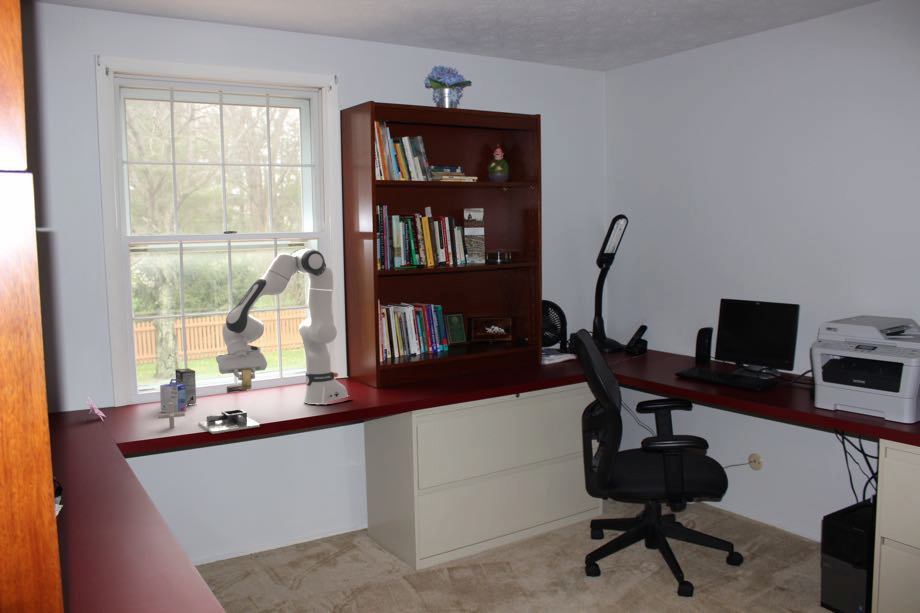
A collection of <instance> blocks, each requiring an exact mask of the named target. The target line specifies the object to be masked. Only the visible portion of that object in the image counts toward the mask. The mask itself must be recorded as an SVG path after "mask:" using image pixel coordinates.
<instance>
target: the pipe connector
mask: <svg viewBox="0 0 920 613" xmlns="http://www.w3.org/2000/svg"><path fill="white" fill-rule="evenodd" d="M185 412H186V411H185ZM185 412H178V413H174V407H173V403H169V413H167V412H165V413H158V414H157V418H158V419H168V422H169V426H168V427H169V428H170V429H173V428H175V418H181V417H185V416H186V414H185Z"/></svg>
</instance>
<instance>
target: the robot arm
mask: <svg viewBox="0 0 920 613" xmlns="http://www.w3.org/2000/svg"><path fill="white" fill-rule="evenodd" d="M332 270H333V269H331V268H330V267H329V266H327V265H326V261H325V257H324V255H323V254H322V253H321V252H320V251H319V250H316V249H310V248H304V249H298V250H295V251H293V252H292V253H290V254H289V253H287V252H281V253H279V254H277V256H276V257H275V258H274V259H273V261H272V263H271V264H270V265H269V267H268V268H267V270H266V272H265V273H264V275H263V276H262V277H261V278H258V279H257V280H255V281H254V282H253V283H252V285H250V286H249V288H248V290H247V291H245V293H244V295H243V296H242V297H241V299H240V300H239V302H238V303H237V304H236V305H235V306H234V308H233V309H232V310H231V311H230V312H229V313H227V316H226V318H225V323H224V325H223V326H222V337H223V341H224V344H225V345H226V351H227V353H224V354H222V353H220V354H218V355H216V356H215V360H216V363H217V366H218V372H219V373H220V374H222V375H224V374H233V375H234V376H235V377H236V378H237V379H238V381H242V379H243V377H242V374H240V373H242V371H241V370H244V369H250V370H251V380H253V379H255V378H256V374H255V373H256V372H257V371H258V372H259V371H265V370H266V368H267V366H268V361H267V360H266V357H265V355H264V354H263V352H261V348H260V347H259V346H256V345H255V346H254V345H251V344H252V343H253V342H255V341H257V340H259V339H260V338H262V336H263V334H264V331H265V326H264V325H265V324H264V323H263V322H262V321H261V320H260V319H258V318H256V317H254V316H252V315H251V314H250V312H251V310H252V309H253V308H254V306H255V304H256V303H257V301H259V299H260V298H261V297H263V296H278V295H281V294H283V293H284V292H285V291H286V290H287V288H288V286H289V285H290V282H291V280H292V278H293V276H294V275H295V274H296V273H300V274H305V275H306V274H307V276H308V280H309V284H308V294H307V307H308V311H309V318H307V319H304V320H303V321H301V323H300V324H299V327H298V332H299V335H300V336H301V338H302V343H303V348H304V352H305V363H306V364H305V365H306V372H305V385H306V389H305V396H304V401H305V402H307V403H325V402H329V401H333V400H337V399H341V398H345V397H348V396H349V395H348V390H347V387H346V386H345V385H344V384H342V383H340V381H338V380H336V379H335V378H338V376H339V373H338V372H333V371H331V366H332V365H331V355H330V352H329V350H328V346H327V344H330V343H333V341H334V340H335V339H336V338H337V333H338V330H337V328H336V326H335V323H334V316H333V314H334V313H333V296H334V294H333V293H334V276H333V271H332ZM304 401H303V402H304Z"/></svg>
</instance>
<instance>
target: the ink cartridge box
mask: <svg viewBox="0 0 920 613" xmlns="http://www.w3.org/2000/svg"><path fill="white" fill-rule="evenodd" d="M177 381H178V379H176V378H171V379H170V381H169V383H166V384H162V385H159V388H160V390H159V391H160V413H169V403H173V407H174V413H178V412H183V411H185V412H186V411H187V406H186V394H185V385H184V384H177Z"/></svg>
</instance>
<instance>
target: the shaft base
mask: <svg viewBox="0 0 920 613" xmlns="http://www.w3.org/2000/svg"><path fill="white" fill-rule="evenodd" d="M197 423H198V424H199V426H200V427H201V426H202V427H201V428H203V429H204V428H205V429H204V430H206V429H207V430H208V431H207V430H206V431H207V432H209V433H211V434H212V435H214V434H221V433H226V432H233V431H239V430H247V429H253V428H259V427H260V426H261V424H260V423H258V422H257V421H255V420H253V419H251V418H249V417H248V412H247V411H245V410H243V409H242V408H238V409H229V410H223V411H221V414H215V415H208V416H206V420H203V421H198V422H197Z"/></svg>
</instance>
